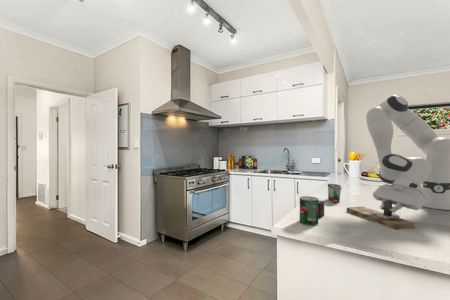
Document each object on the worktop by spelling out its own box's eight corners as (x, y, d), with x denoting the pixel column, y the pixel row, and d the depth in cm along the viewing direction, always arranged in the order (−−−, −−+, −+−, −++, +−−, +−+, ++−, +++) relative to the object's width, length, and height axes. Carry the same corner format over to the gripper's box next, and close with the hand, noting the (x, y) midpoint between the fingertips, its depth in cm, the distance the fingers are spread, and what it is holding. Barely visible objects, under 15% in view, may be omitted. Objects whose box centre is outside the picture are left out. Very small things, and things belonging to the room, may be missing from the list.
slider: (376, 215, 101) (376, 200, 100) (388, 214, 102) (388, 199, 102) (386, 219, 96) (386, 203, 96) (399, 218, 97) (399, 202, 97)
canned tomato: (295, 221, 100) (295, 197, 100) (308, 218, 104) (308, 195, 104) (309, 227, 93) (309, 201, 93) (322, 224, 97) (322, 199, 97)
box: (324, 215, 108) (324, 201, 108) (320, 218, 104) (320, 203, 104) (312, 213, 113) (312, 199, 112) (307, 216, 108) (307, 201, 108)
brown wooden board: (346, 211, 116) (346, 207, 116) (362, 210, 118) (362, 206, 118) (395, 229, 90) (395, 224, 90) (414, 227, 93) (414, 222, 93)
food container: (344, 204, 131) (345, 187, 131) (333, 203, 132) (334, 186, 132) (337, 199, 143) (337, 183, 143) (327, 198, 144) (327, 183, 144)
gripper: (379, 179, 110) (363, 200, 108) (425, 186, 90) (405, 212, 88) (386, 188, 111) (370, 208, 109) (433, 197, 91) (414, 222, 89)
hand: (386, 210), depth 99 cm, fingers closed on slider, 3 cm apart
